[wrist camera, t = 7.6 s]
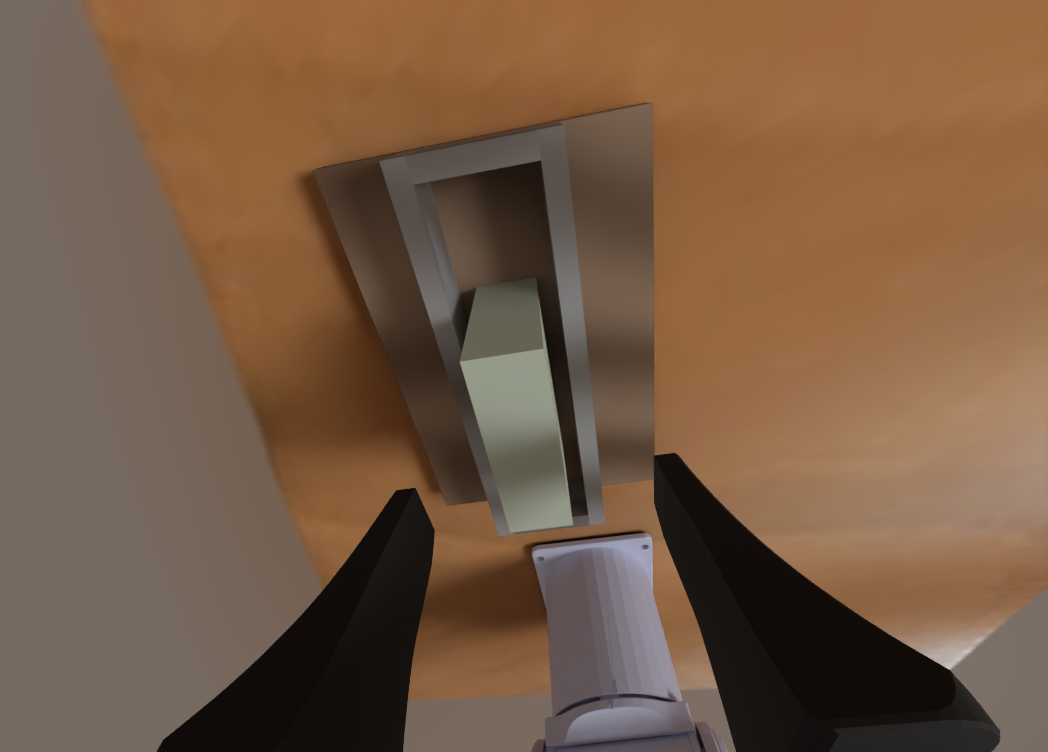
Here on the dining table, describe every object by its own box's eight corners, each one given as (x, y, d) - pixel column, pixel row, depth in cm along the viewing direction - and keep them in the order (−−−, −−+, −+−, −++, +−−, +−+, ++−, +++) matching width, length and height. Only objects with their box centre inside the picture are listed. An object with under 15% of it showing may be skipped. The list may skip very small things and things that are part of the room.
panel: (560, 426, 22) (573, 525, 17) (511, 433, 22) (510, 532, 17) (536, 277, 17) (543, 348, 12) (476, 287, 17) (459, 361, 12)
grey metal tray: (649, 466, 25) (667, 515, 22) (449, 492, 26) (440, 543, 23) (645, 102, 15) (676, 102, 12) (323, 166, 16) (279, 180, 13)
